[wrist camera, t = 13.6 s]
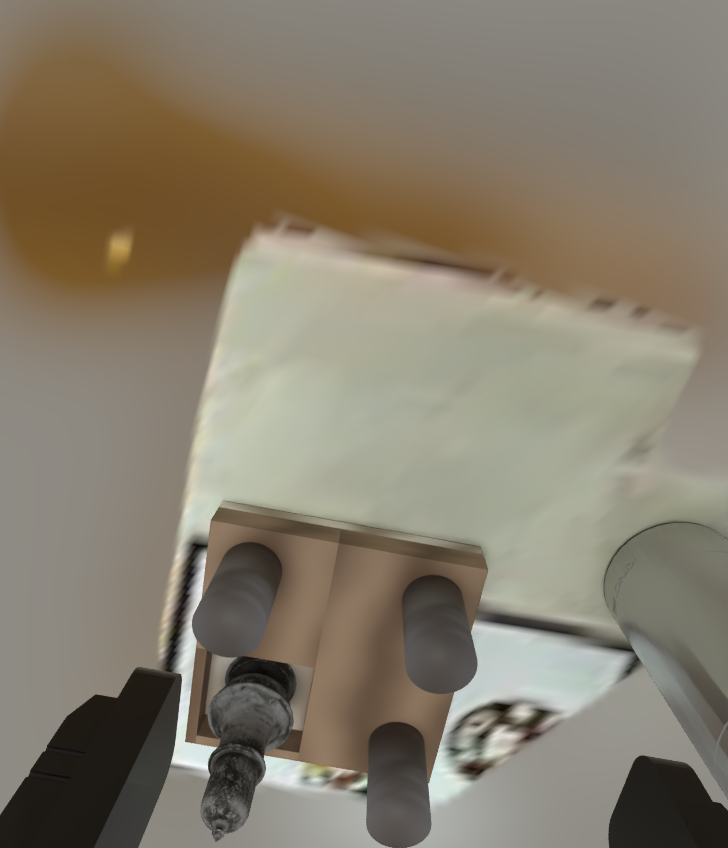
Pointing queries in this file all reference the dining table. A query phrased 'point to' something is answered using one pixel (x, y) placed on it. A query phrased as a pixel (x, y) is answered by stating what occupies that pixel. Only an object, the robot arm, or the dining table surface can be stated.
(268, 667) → the grey chess piece
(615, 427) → the dining table surface
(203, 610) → the wooden peg stand
